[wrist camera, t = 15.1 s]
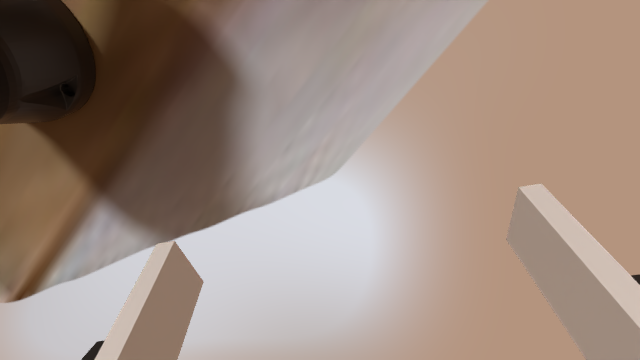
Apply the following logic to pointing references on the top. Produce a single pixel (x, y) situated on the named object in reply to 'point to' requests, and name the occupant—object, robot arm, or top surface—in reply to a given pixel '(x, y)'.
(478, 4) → the top surface
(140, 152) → the top surface
